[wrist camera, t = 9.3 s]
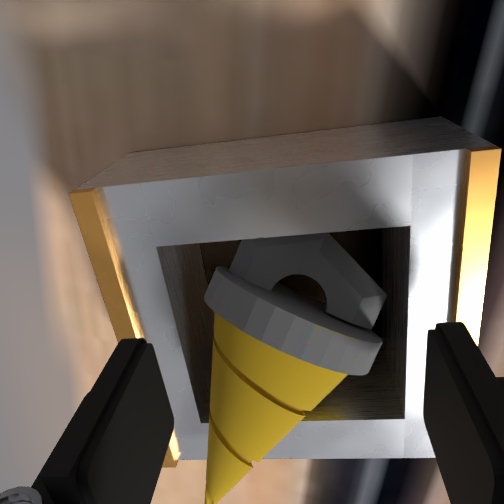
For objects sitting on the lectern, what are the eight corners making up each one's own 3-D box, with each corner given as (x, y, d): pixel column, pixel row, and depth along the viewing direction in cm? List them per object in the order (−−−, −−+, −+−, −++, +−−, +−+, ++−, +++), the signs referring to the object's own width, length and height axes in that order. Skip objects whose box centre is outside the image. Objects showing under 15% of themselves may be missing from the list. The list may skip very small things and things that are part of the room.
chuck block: (129, 152, 14) (68, 194, 11) (441, 116, 13) (501, 148, 9) (187, 379, 19) (159, 467, 15) (426, 371, 17) (463, 466, 13)
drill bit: (400, 250, 15) (288, 498, 16) (262, 192, 16) (160, 434, 16) (451, 252, 10) (280, 626, 10) (240, 165, 10) (89, 524, 11)
